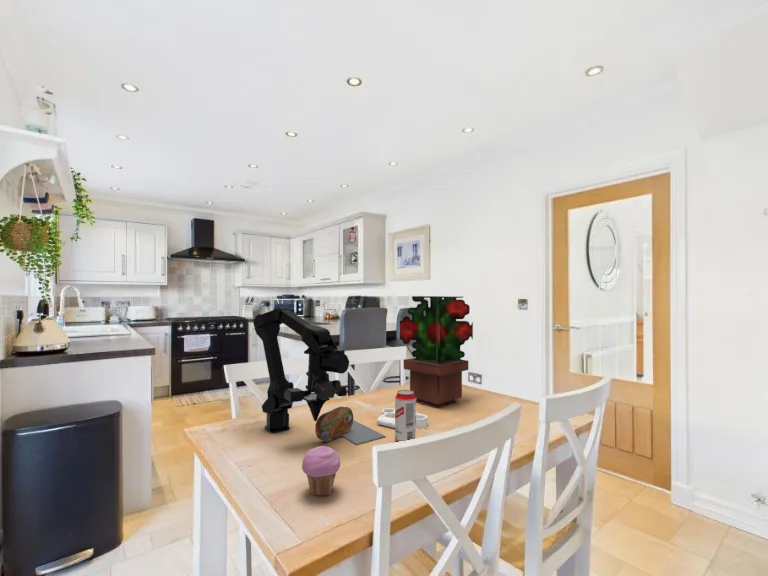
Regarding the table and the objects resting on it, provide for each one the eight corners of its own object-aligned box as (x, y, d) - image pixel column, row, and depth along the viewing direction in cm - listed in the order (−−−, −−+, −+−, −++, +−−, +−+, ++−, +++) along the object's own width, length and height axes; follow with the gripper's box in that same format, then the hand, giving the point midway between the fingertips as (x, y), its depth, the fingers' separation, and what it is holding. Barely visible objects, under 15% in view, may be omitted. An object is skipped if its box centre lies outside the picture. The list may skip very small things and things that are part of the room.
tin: (320, 446, 112) (320, 418, 112) (313, 443, 114) (312, 416, 114) (354, 429, 124) (353, 404, 124) (347, 427, 126) (346, 402, 126)
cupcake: (339, 501, 82) (339, 455, 82) (299, 503, 81) (299, 456, 81) (340, 481, 91) (341, 439, 91) (304, 482, 90) (305, 440, 90)
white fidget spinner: (369, 424, 132) (391, 414, 144) (414, 435, 122) (433, 423, 134) (369, 415, 132) (391, 405, 144) (414, 425, 122) (433, 413, 134)
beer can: (401, 450, 109) (401, 395, 109) (391, 443, 114) (391, 390, 115) (419, 447, 112) (419, 393, 112) (408, 439, 117) (408, 388, 118)
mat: (356, 445, 113) (356, 443, 113) (326, 427, 128) (326, 426, 128) (385, 437, 119) (385, 435, 119) (353, 421, 134) (353, 419, 134)
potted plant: (432, 392, 176) (433, 296, 177) (472, 402, 159) (472, 296, 160) (399, 400, 161) (399, 296, 162) (439, 412, 144) (440, 296, 145)
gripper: (299, 375, 104) (296, 433, 103) (356, 371, 115) (354, 423, 114) (284, 370, 113) (282, 422, 112) (339, 366, 124) (337, 414, 123)
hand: (315, 420), depth 115 cm, fingers closed, pressing on tin
